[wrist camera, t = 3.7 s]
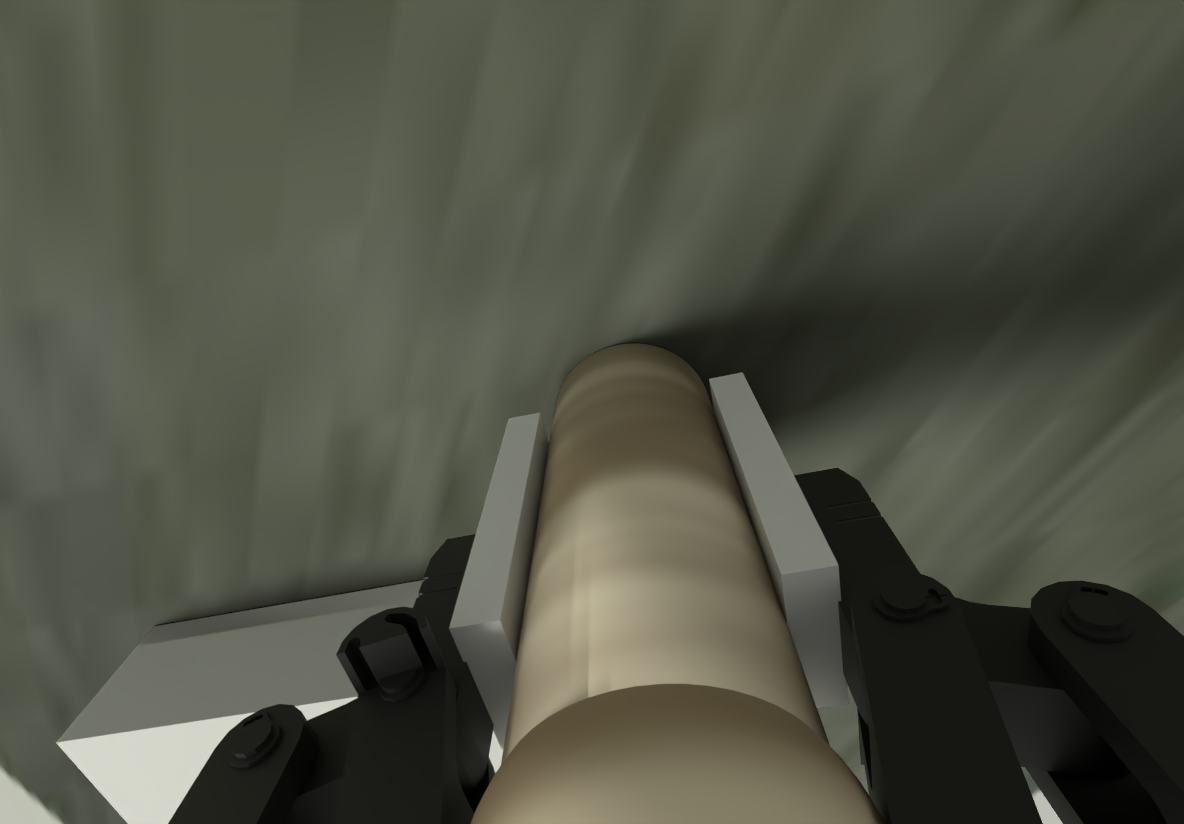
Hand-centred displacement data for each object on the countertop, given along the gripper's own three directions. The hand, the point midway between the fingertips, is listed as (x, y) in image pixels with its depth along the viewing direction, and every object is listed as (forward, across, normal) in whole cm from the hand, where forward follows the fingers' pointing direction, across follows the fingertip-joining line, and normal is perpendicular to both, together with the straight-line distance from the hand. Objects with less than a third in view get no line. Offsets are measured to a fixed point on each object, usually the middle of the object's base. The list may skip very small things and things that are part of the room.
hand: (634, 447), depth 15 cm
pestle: (+2, 0, 0) cm, 2 cm away
